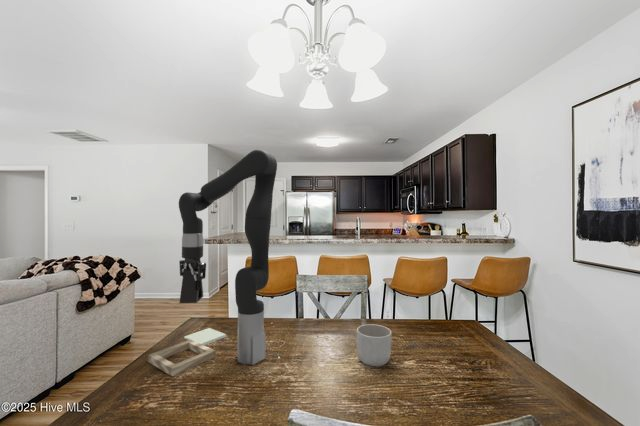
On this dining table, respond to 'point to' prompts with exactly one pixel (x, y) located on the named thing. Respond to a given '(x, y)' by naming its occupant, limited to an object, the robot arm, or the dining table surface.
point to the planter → (374, 344)
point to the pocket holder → (175, 369)
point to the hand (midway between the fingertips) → (192, 288)
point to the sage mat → (205, 336)
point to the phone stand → (190, 288)
